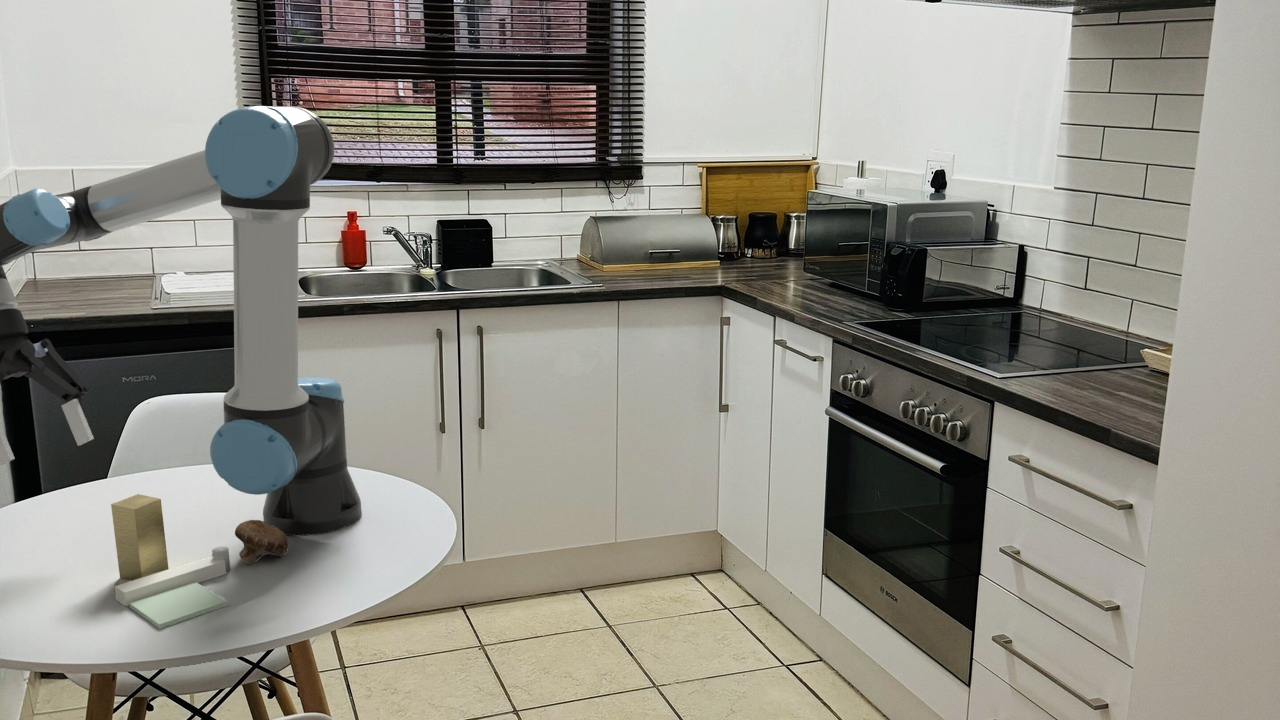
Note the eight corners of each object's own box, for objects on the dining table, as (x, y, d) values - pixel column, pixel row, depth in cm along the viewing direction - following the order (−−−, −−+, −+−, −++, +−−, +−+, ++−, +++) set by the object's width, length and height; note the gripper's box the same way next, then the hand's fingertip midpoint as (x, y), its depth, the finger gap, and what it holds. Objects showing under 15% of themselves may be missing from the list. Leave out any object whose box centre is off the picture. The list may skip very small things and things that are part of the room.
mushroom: (224, 553, 154) (244, 512, 156) (223, 554, 162) (242, 514, 164) (278, 574, 156) (297, 533, 158) (274, 574, 164) (293, 534, 166)
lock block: (146, 566, 158) (138, 494, 156) (168, 571, 156) (160, 498, 154) (120, 578, 154) (110, 504, 152) (142, 583, 152) (133, 509, 150)
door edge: (224, 565, 158) (222, 544, 157) (234, 571, 156) (232, 550, 155) (116, 599, 147) (113, 577, 147) (125, 606, 145) (123, 584, 145)
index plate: (195, 585, 151) (195, 581, 151) (227, 605, 146) (226, 601, 145) (130, 607, 145) (129, 603, 145) (159, 628, 139) (159, 624, 139)
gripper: (47, 317, 171) (99, 442, 171) (-109, 335, 148) (-49, 480, 147) (79, 298, 168) (132, 426, 168) (-75, 314, 145) (-14, 462, 145)
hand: (47, 452), depth 158 cm, fingers open, 13 cm apart
